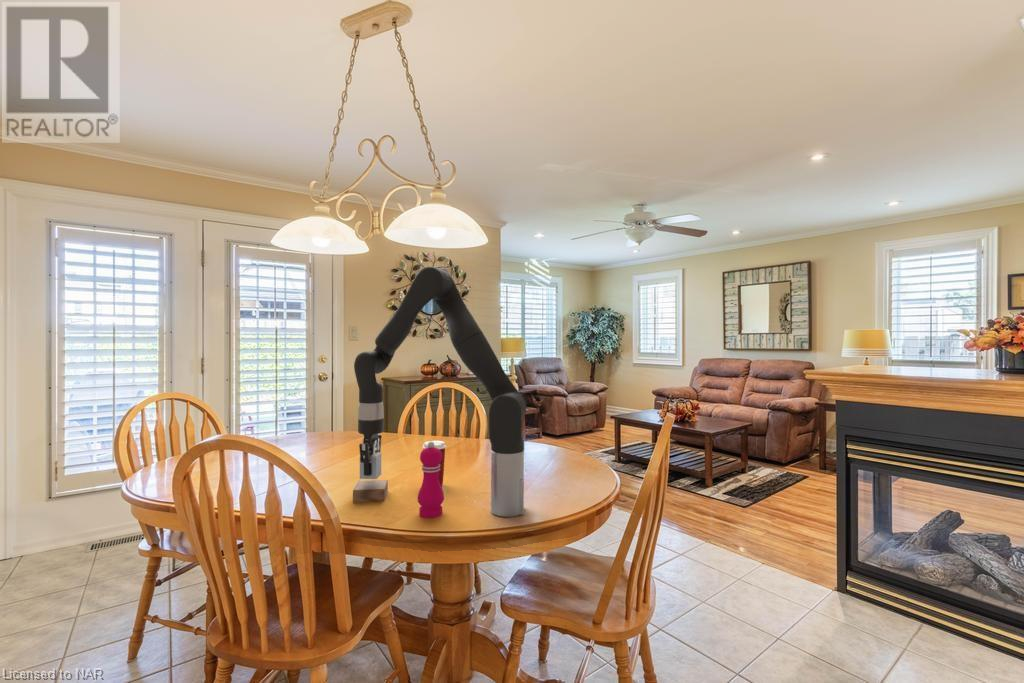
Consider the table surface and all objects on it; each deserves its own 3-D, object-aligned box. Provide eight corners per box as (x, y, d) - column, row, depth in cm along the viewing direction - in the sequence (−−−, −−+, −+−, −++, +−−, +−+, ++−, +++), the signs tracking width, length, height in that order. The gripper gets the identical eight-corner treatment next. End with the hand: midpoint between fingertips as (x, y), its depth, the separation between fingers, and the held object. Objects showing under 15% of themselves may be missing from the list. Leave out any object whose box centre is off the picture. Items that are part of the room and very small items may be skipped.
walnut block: (387, 492, 153) (387, 479, 153) (384, 502, 144) (384, 488, 144) (358, 493, 151) (358, 480, 151) (352, 503, 143) (352, 490, 142)
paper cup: (449, 482, 162) (449, 441, 161) (440, 490, 154) (440, 446, 154) (428, 480, 164) (428, 439, 164) (417, 487, 156) (417, 444, 156)
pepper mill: (412, 513, 134) (412, 441, 134) (434, 507, 139) (434, 437, 139) (427, 521, 129) (427, 446, 128) (449, 514, 134) (449, 441, 134)
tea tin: (381, 474, 150) (381, 451, 150) (376, 479, 145) (376, 455, 145) (365, 474, 150) (365, 451, 150) (359, 478, 145) (359, 455, 145)
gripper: (375, 421, 140) (375, 480, 140) (389, 413, 154) (389, 466, 155) (350, 421, 140) (349, 479, 140) (366, 412, 154) (366, 466, 155)
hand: (370, 472), depth 147 cm, fingers closed on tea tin, 5 cm apart
